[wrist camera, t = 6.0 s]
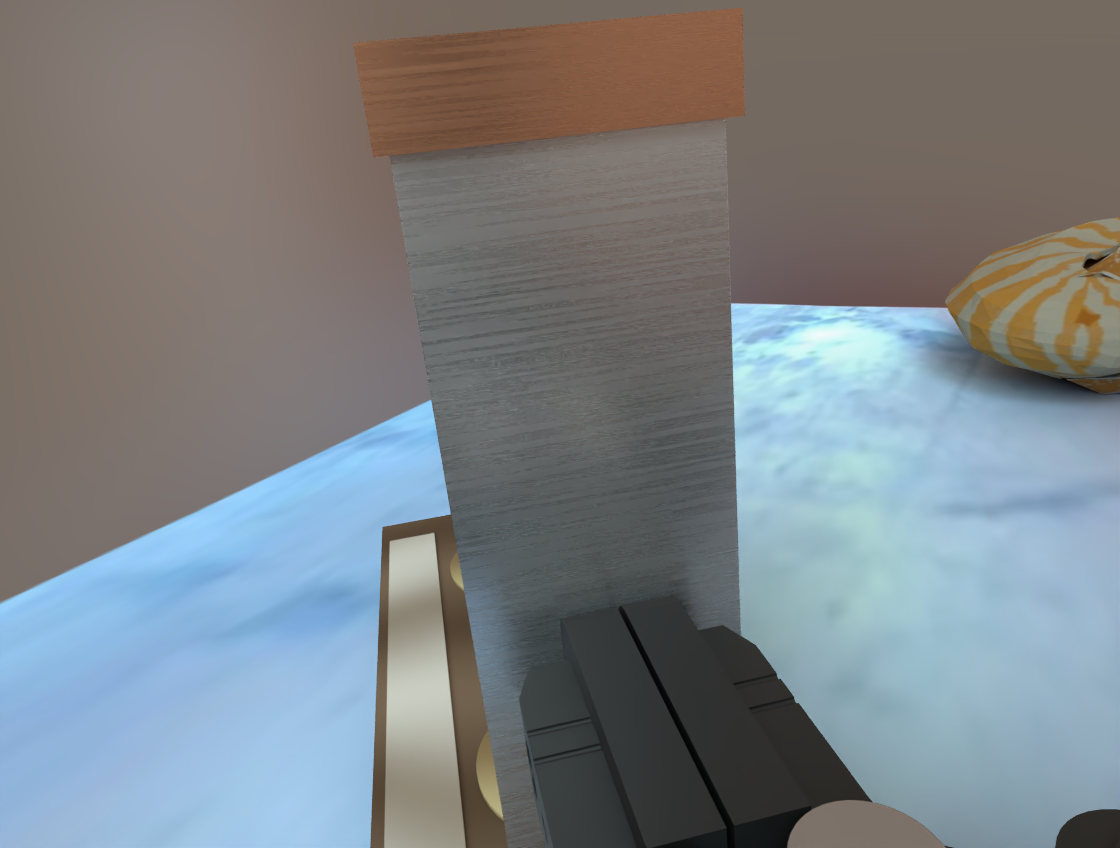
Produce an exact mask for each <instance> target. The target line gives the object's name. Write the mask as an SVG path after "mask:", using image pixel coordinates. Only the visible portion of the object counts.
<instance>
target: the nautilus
mask: <svg viewBox="0 0 1120 848" xmlns="http://www.w3.org/2000/svg"><path fill="white" fill-rule="evenodd" d="M945 302H946V305H947V308H948V310H949V312H950V314H951V315H952V317H953V319H954V320H955V322H956V324H957V325H958V327H959V328H960V330H961V332H962V333H963V335H964V337H965V338H966V340H967V341H968V342H969V344H970V345H971V346H972V348H974V349H976V350H978V351H980V352H982V353H984V354H986V355H987V356H989V357H991V358H993V359H995V360H997V361H999V362H1001V363H1003V364H1005V365H1009V366H1013V367H1018V368H1022V369H1027V370H1030V371H1034V372H1037V373H1041V374H1044V375H1048V376H1051V377H1055V378H1058V379H1061V378H1066V380H1069V381H1071V382H1074V383H1076V384H1079V385H1081V386H1083V387H1086V388H1088V389H1091V390H1093V391H1096V392H1098V393H1100V394H1103V395H1105V394H1113V393H1120V217H1118V218H1112V219H1105V220H1099V221H1092V222H1087V223H1085V224H1081V225H1078V226H1075V227H1072V228H1070V229H1067V230H1062V231H1057V232H1052V233H1048V234H1044V235H1042V236H1039V237H1036V238H1034V239H1031V240H1028V241H1026V242H1023V243H1020V244H1017V245H1015V246H1012V247H1009V248H1006V249H1003V250H1000V251H997V252H994V253H993V254H991V255H990V256H989V257H988V258H986V259H985V260H983V261H982V262H981V263H980V264H979V265H978V266H977V267H976V268H975V269H974V270H973V271H972V272H971V273H970V274H969V275H968V276H967V277H966V278H965V279H964V280H963V281H961V282H960V283H959V284H958V285H956V286H955V287H954V288H953V289H952V290H951V291H950V293H949V295H948V297H947V299H946V301H945Z"/></svg>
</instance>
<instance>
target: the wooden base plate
mask: <svg viewBox="0 0 1120 848" xmlns="http://www.w3.org/2000/svg"><path fill="white" fill-rule="evenodd" d="M371 848H508V842H507V836H506V831H505V825H504V819H503V813H502V807H501V802H500V796H499V790H498V784H497V778H496V772H495V767H494V761H493V755H492V749H491V743H490V738H489V732H488V726H487V720H486V714H485V708H484V703H483V697H482V691H481V685H480V679H479V674H478V668H477V662H476V656H475V650H474V645H473V639H472V633H471V627H470V621H469V615H468V610H467V604H466V598H465V592H464V586H463V581H462V575H461V569H460V563H459V557H458V551H457V546H456V540H455V534H454V528H453V522H452V517H451V515H446V516H441V517H435V518H430V519H424V520H419V521H413V522H408V523H403V524H397V525H392V526H386V527H383V530H382V556H381V583H380V609H379V636H378V662H377V689H376V715H375V742H374V768H373V795H372V821H371Z"/></svg>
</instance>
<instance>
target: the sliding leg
mask: <svg viewBox="0 0 1120 848" xmlns="http://www.w3.org/2000/svg"><path fill="white" fill-rule="evenodd" d="M742 16H743V15H742V8H736V9H724V10H713V11H701V12H692V13H679V14H668V15H658V16H646V17H636V18H624V19H614V20H602V21H592V22H580V23H569V24H558V25H546V26H535V27H525V28H515V29H502V30H492V31H480V32H469V33H458V34H447V35H436V36H425V37H414V38H403V39H392V40H381V41H370V42H359V43H353V45H354V50H355V56H356V61H357V67H358V73H359V78H360V84H361V89H362V95H363V101H364V106H365V112H366V117H367V123H368V128H369V134H370V140H371V146H372V151H373V157H386V156H390V162H391V167H392V173H393V179H394V184H395V191H396V197H397V202H398V208H399V214H400V219H401V226H402V231H403V237H404V243H405V249H406V255H407V261H408V266H409V272H410V278H411V284H412V290H413V296H414V301H415V307H416V313H417V319H418V325H419V330H420V336H421V342H422V347H423V354H424V359H425V365H426V371H427V376H428V383H429V389H430V394H431V400H432V406H433V412H434V418H435V423H436V429H437V435H438V441H439V447H440V453H441V458H442V464H443V470H444V476H445V482H446V487H447V493H448V499H449V505H450V511H451V517H452V522H453V528H454V534H455V540H456V546H457V551H458V557H459V563H460V569H461V575H462V581H463V586H464V592H465V598H466V604H467V610H468V615H469V621H470V627H471V633H472V639H473V645H474V650H475V656H476V662H477V668H478V674H479V679H480V685H481V691H482V697H483V703H484V708H485V714H486V720H487V726H488V732H489V738H490V743H491V749H492V755H493V761H494V767H495V772H496V778H497V784H498V790H499V796H500V802H501V807H502V813H503V819H504V825H505V831H506V836H507V842H508V848H545V844H544V840H543V834H542V831H541V826H540V822H539V817H538V812H537V808H536V803H535V799H534V794H533V787H532V781H531V774H530V768H529V761H528V755H527V748H526V742H525V735H524V729H523V722H522V715H521V709H520V702H519V697H520V694H521V691H522V688H523V685H524V682H525V679H526V676H527V673H528V670H529V667H534V666H538V665H543V664H547V663H552V662H557V661H561V660H564V655H563V647H562V639H561V630H560V620H561V619H562V618H567V617H571V616H576V615H581V614H586V613H591V612H595V611H600V610H605V609H610V608H614V607H616V608H617V609H618V608H619V606H623V605H627V604H632V603H637V602H642V601H647V600H651V599H656V598H661V597H666V596H670V595H675V596H676V597H677V598H678V599H679V601H680V602H681V604H682V605H683V607H684V608H685V610H686V612H687V613H688V615H689V616H690V618H691V619H692V621H693V622H694V624H695V626H696V627H697V629H698V630H702V629H706V628H711V627H716V626H720V625H724V626H725V627H727V628H729V629H730V630H732V631H733V632H735V633H737V634H738V635H740V636H741V630H740V596H739V563H738V529H737V495H736V461H735V428H734V394H733V360H732V327H731V294H730V259H729V227H728V192H727V159H726V124H725V118H729V117H739V116H745V112H744V111H745V108H744V63H743V18H742Z"/></svg>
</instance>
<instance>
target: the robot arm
mask: <svg viewBox="0 0 1120 848" xmlns="http://www.w3.org/2000/svg"><path fill="white" fill-rule="evenodd" d="M560 630H561V639H562V647H563V655H564V660H561V661H557V662H552V663H547V664H543V665H538V666H534V667H529V670H528V673H527V676H526V679H525V682H524V685H523V688H522V691H521V694H520V697H519V702H520V709H521V715H522V722H523V729H524V735H525V742H526V748H527V755H528V761H529V768H530V774H531V781H532V787H533V794H534V799H535V803H536V808H537V812H538V817H539V822H540V826H541V831H542V834H543V840H544V844H545V848H952V847H948V846H944V845H943V844H942V843H941V842H940V841H939V840H938V839H937V838H936V837H935V836H934V835H933V834H932V833H931V832H930V831H929V830H928V829H927V828H925V827H924V826H923V825H921V824H920V823H919V822H917V821H916V820H914V819H913V818H911V817H909V816H907V815H906V814H904V813H902V812H900V811H897V810H895V809H893V808H890V807H887V806H884V805H881V804H877V803H873V802H872V801H871V800H870V799H869V797H868V796H867V795H866V793H865V792H864V791H863V789H862V788H861V787H860V785H859V784H858V783H857V781H856V780H855V779H854V777H853V776H852V775H851V773H850V772H849V771H848V769H847V768H846V766H845V765H844V764H843V762H842V761H841V760H840V758H839V757H838V756H837V754H836V753H835V752H834V750H833V749H832V748H831V746H830V745H829V744H828V742H827V741H826V739H825V738H824V737H823V735H822V734H821V733H820V731H819V730H818V729H817V727H816V726H815V725H814V723H813V722H812V721H811V719H810V718H809V717H808V715H807V714H806V712H805V711H804V710H803V708H802V707H801V706H800V704H799V703H797V704H796V703H795V700H794V696H793V695H792V694H791V692H790V691H789V690H788V688H787V687H786V685H785V684H784V683H783V681H782V680H781V679H778V678H777V674H776V672H775V671H774V669H773V668H772V667H771V665H770V664H769V663H768V661H767V660H766V658H765V657H764V656H763V654H762V653H761V652H760V650H759V649H758V648H757V646H756V645H754V644H753V643H751V642H750V641H748V640H746V639H745V638H743V637H742V636H740V635H738V634H737V633H735V632H733V631H732V630H730V629H729V628H727V627H725V626H724V625H720V626H716V627H711V628H706V629H702V630H698V629H697V627H696V626H695V624H694V622H693V621H692V619H691V618H690V616H689V615H688V613H687V612H686V610H685V608H684V607H683V605H682V604H681V602H680V601H679V599H678V598H677V597H676V596H675V595H670V596H666V597H661V598H656V599H651V600H647V601H642V602H637V603H632V604H627V605H623V606H619V608H618V609H617V608H616V607H614V608H610V609H605V610H600V611H595V612H591V613H586V614H581V615H576V616H571V617H567V618H562V619H561V620H560ZM1055 848H1120V810H1116V809H1101V810H1094V811H1088V812H1085V813H1082V814H1079V815H1077V816H1075V817H1073V818H1072V819H1070V820H1069V821H1067V822H1066V824H1065V825H1064V826H1063V827H1062V828H1061V830H1060V832H1059V834H1058V836H1057V840H1056V847H1055Z"/></svg>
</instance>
